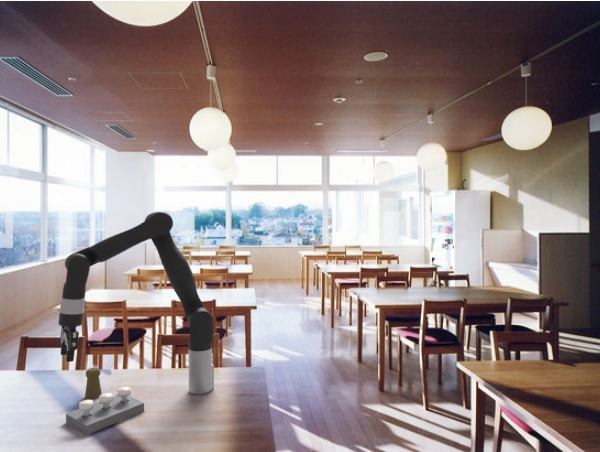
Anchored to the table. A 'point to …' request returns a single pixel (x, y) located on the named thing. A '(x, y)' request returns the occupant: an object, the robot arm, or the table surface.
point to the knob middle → (105, 400)
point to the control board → (104, 414)
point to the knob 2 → (124, 393)
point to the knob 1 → (86, 407)
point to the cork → (93, 384)
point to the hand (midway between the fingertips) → (66, 358)
